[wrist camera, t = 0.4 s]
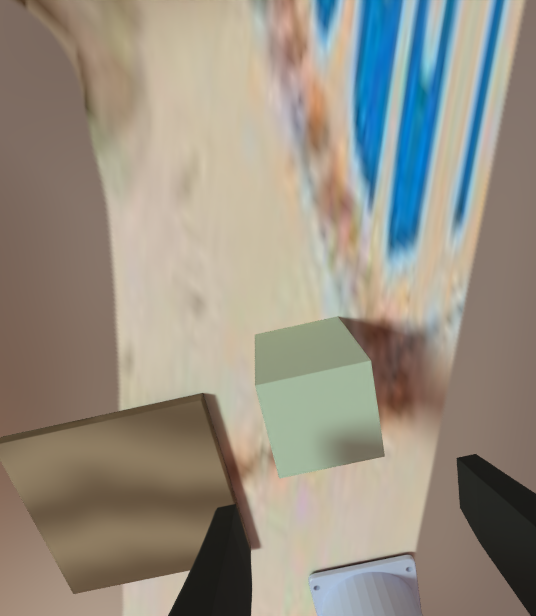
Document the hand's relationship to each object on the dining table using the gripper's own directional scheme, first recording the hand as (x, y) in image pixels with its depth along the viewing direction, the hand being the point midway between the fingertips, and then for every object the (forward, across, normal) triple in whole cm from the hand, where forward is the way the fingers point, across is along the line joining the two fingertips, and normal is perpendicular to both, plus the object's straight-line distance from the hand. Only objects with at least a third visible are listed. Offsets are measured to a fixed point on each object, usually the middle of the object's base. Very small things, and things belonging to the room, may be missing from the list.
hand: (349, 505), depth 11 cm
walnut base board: (+10, +13, +7) cm, 18 cm away
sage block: (+10, 0, 0) cm, 10 cm away
